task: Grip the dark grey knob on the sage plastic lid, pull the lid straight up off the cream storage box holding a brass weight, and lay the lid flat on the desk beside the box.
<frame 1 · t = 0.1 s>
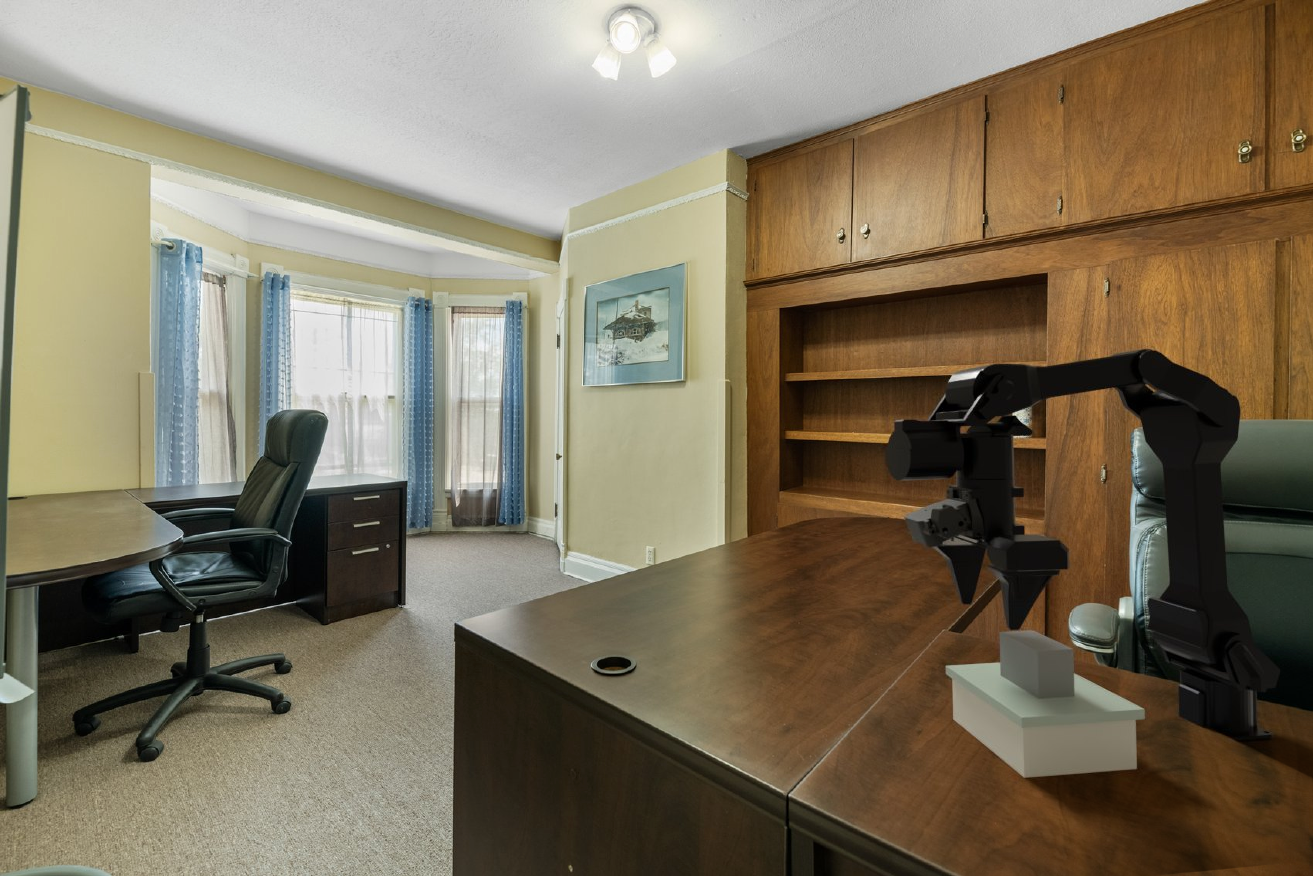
hand: (988, 616, 66), 14 cm above the table, fingers open, 9 cm apart
box: (1037, 748, 64), on the table
lid: (1036, 694, 64), point 6 cm above the table, touching box
brass weight: (1039, 736, 66), point 1 cm above the table, touching box
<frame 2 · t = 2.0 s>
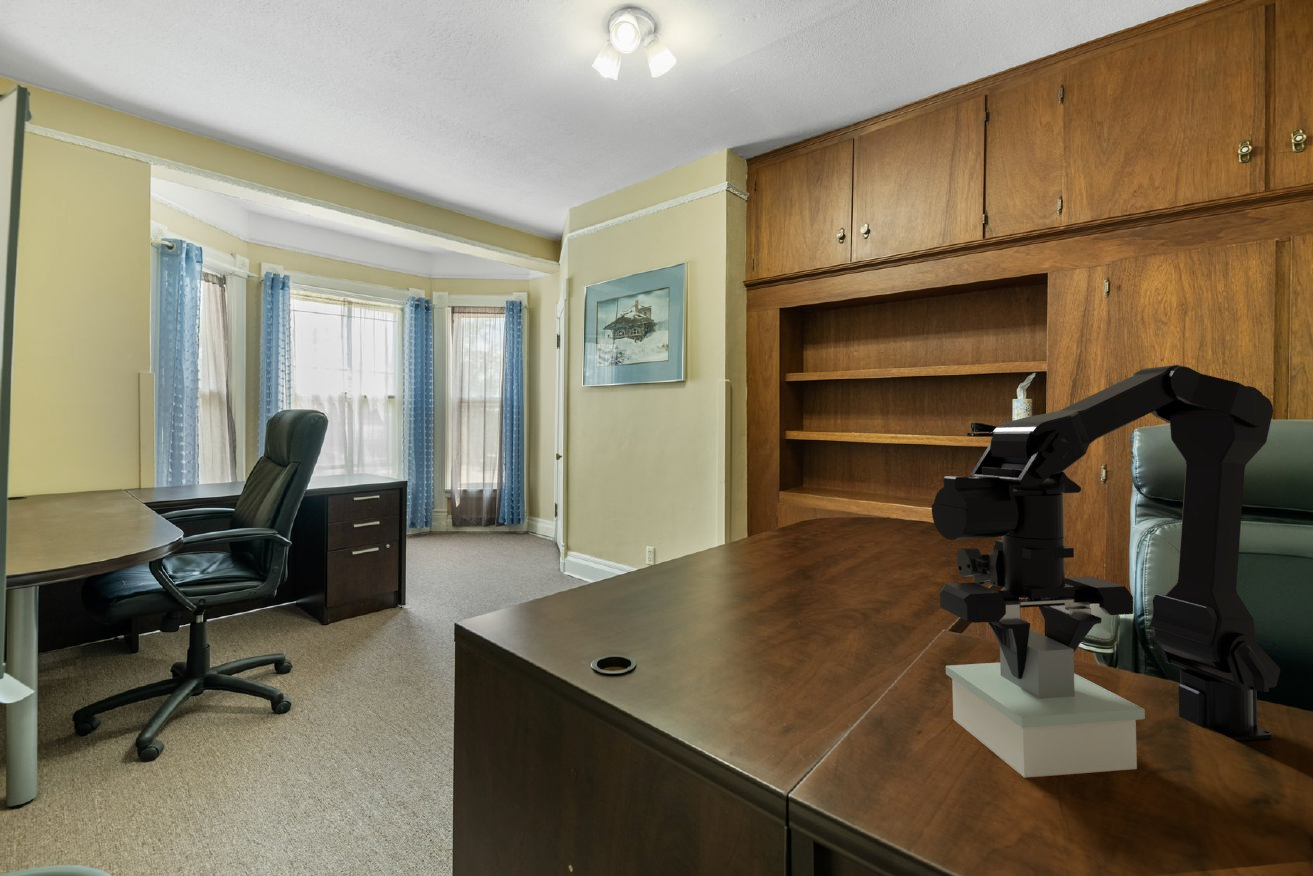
hand: (1035, 676, 64), 8 cm above the table, fingers closed on lid, 4 cm apart
lid: (1036, 694, 64), point 6 cm above the table, touching box, gripper
everything else where it was.
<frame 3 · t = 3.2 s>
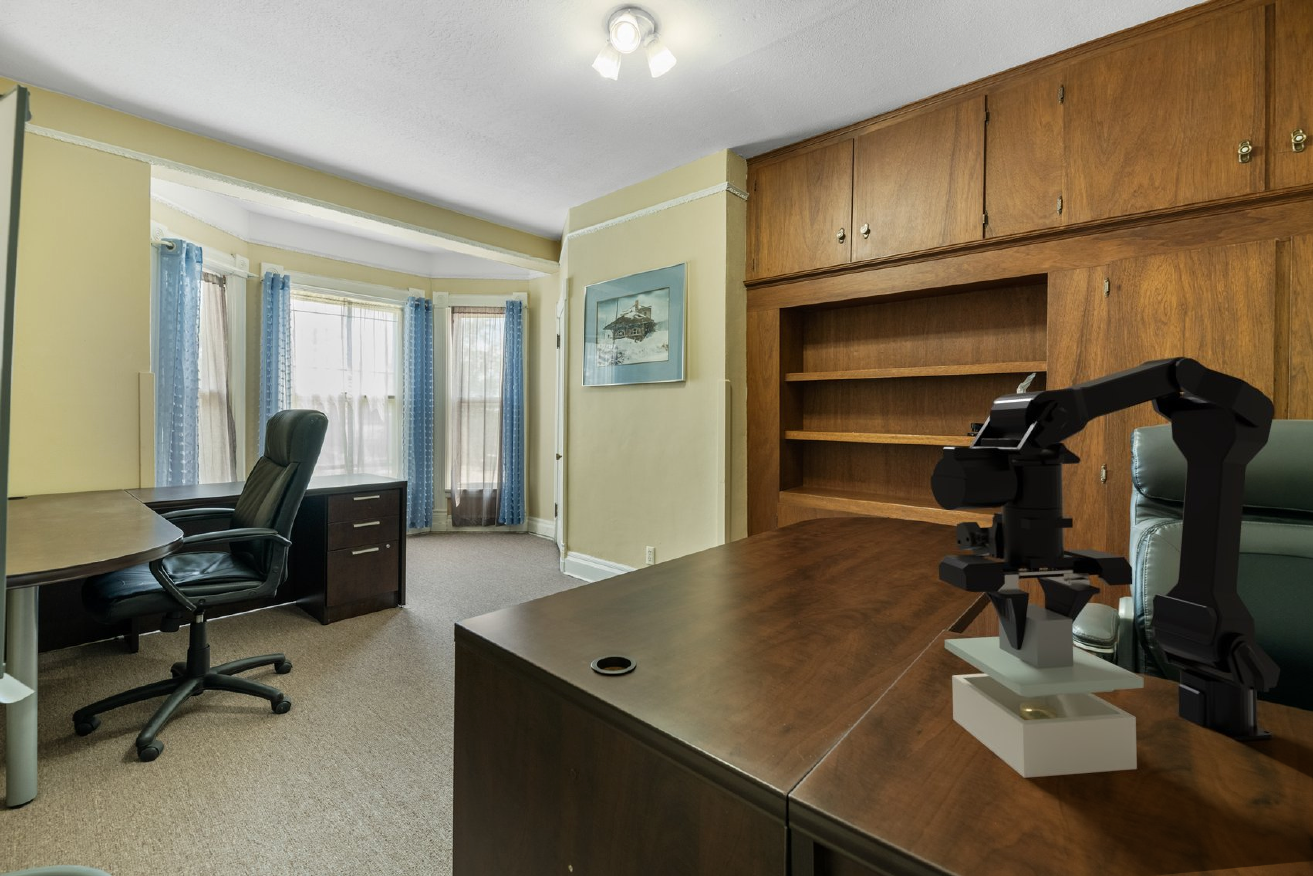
hand: (1034, 647, 64), 11 cm above the table, fingers closed on lid, 4 cm apart
lid: (1035, 666, 64), point 9 cm above the table, touching gripper
everything else where it was.
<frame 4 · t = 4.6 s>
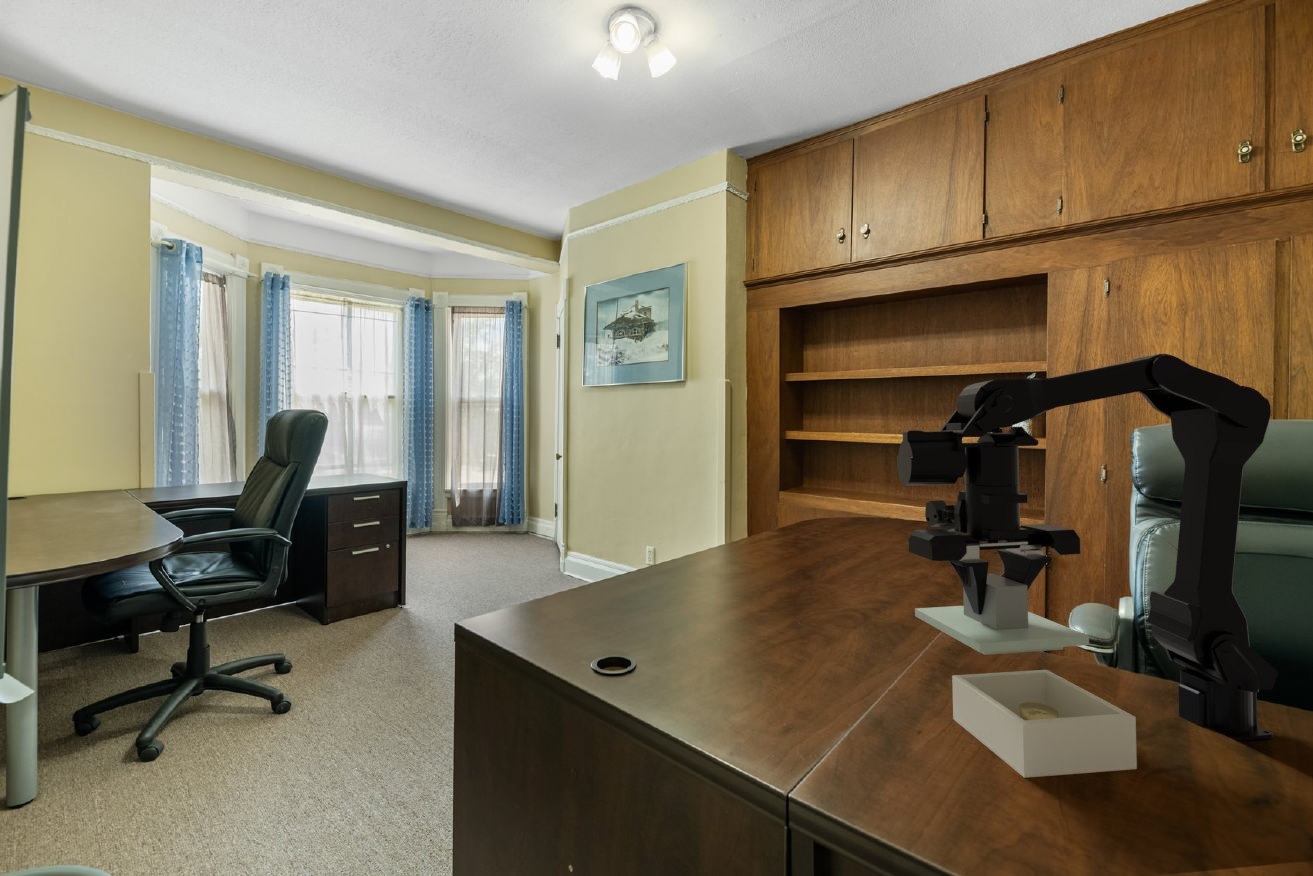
hand: (994, 612, 71), 13 cm above the table, fingers closed on lid, 4 cm apart
lid: (994, 629, 71), point 11 cm above the table, touching gripper
everything else where it was.
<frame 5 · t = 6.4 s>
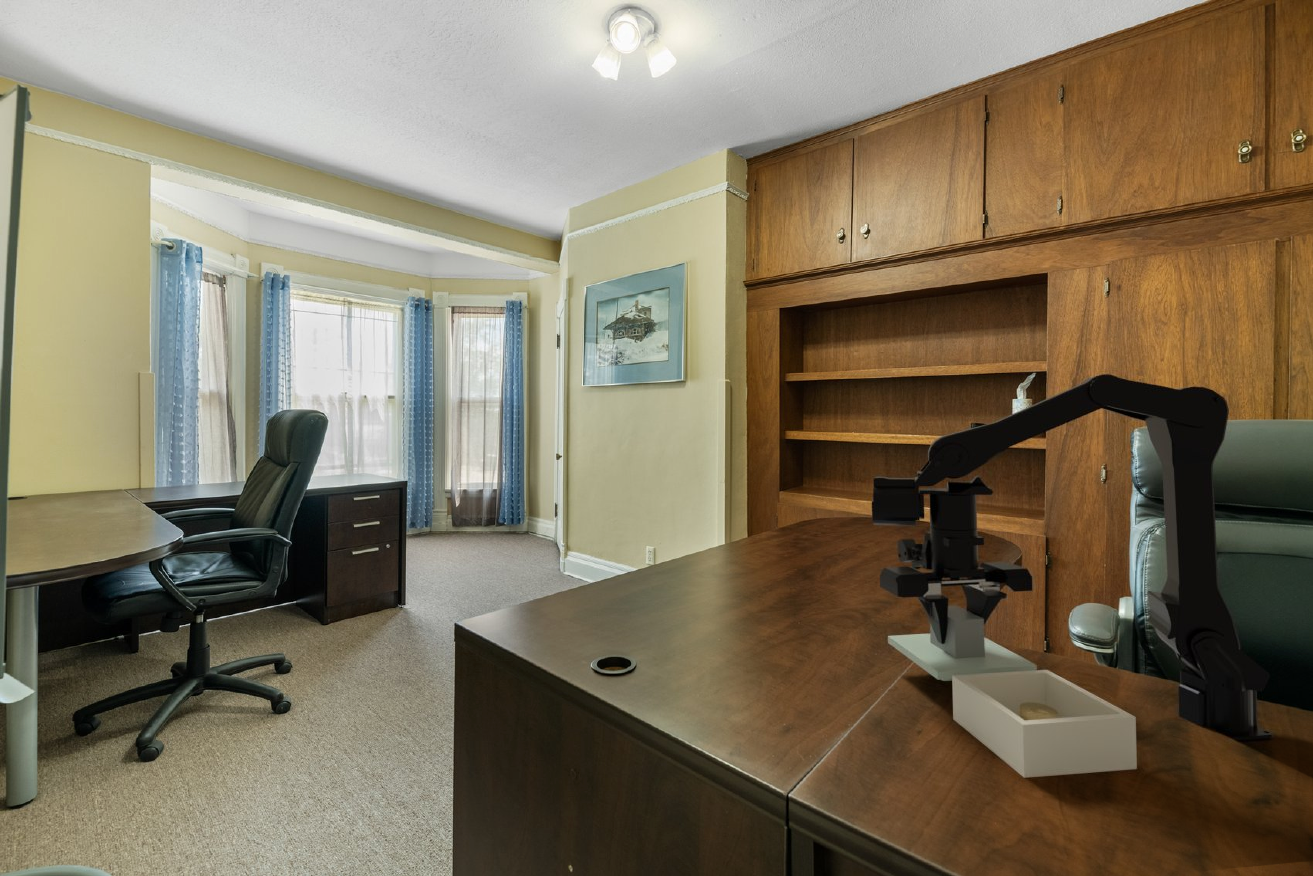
hand: (956, 642, 79), 7 cm above the table, fingers closed on lid, 4 cm apart
lid: (956, 656, 79), point 5 cm above the table, touching gripper
everything else where it was.
when the fingers open (4 cm above the table, at t = 7.5 s): lid drops 2 cm, point 1 cm above the table.
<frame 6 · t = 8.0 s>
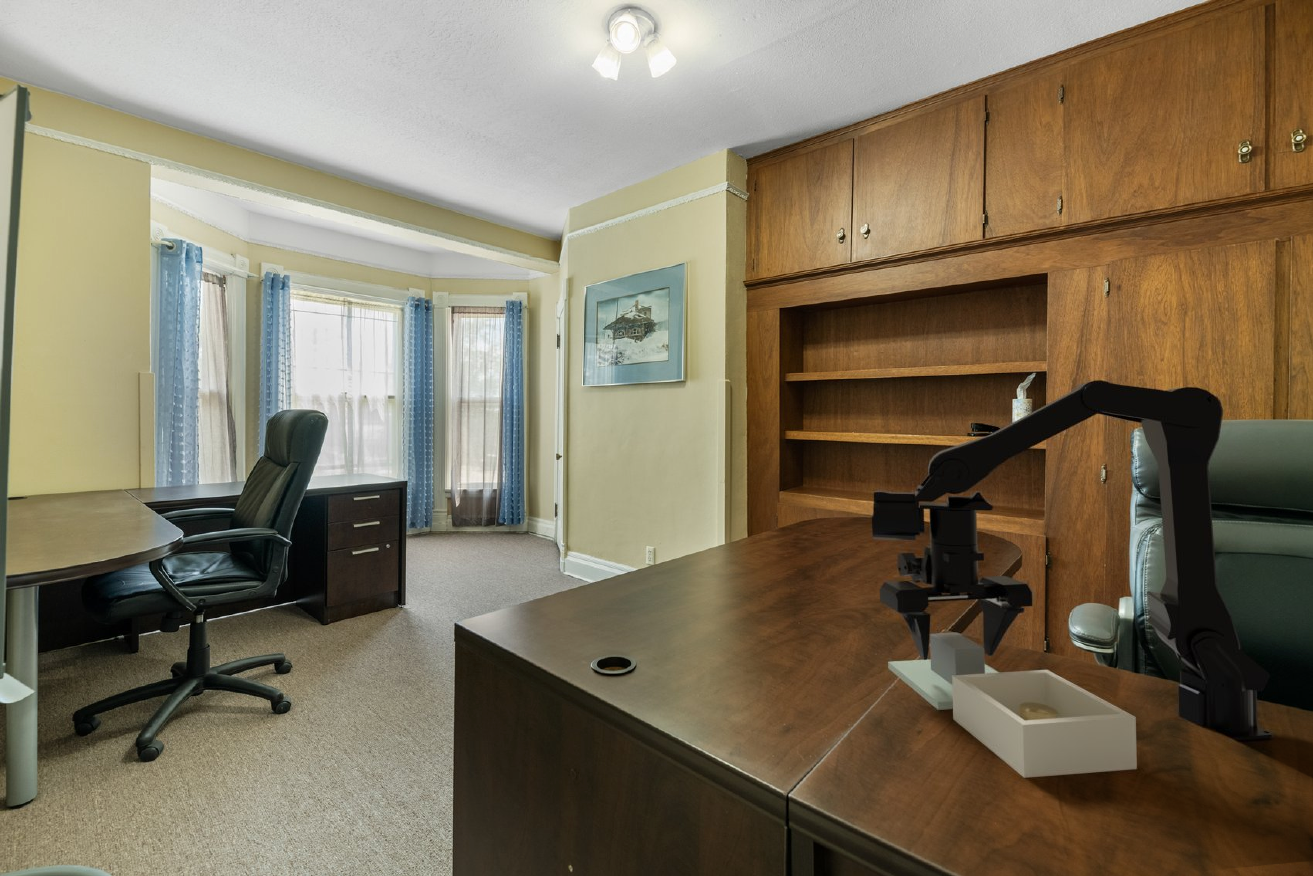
hand: (956, 657, 79), 4 cm above the table, fingers open, 9 cm apart
lid: (957, 684, 79), point 1 cm above the table
everything else where it was.
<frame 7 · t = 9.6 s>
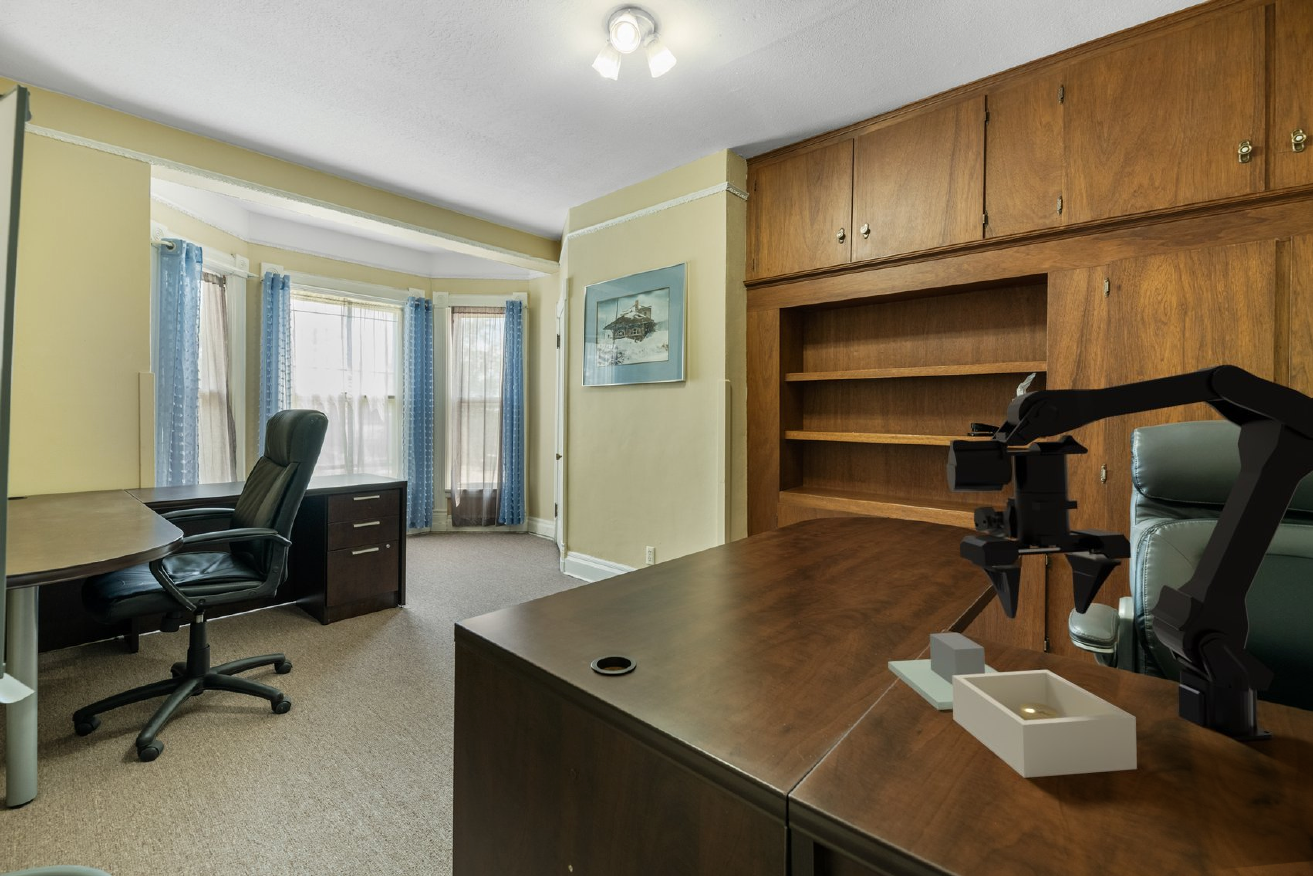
hand: (1045, 615, 73), 12 cm above the table, fingers open, 9 cm apart
nothing on the table moved.
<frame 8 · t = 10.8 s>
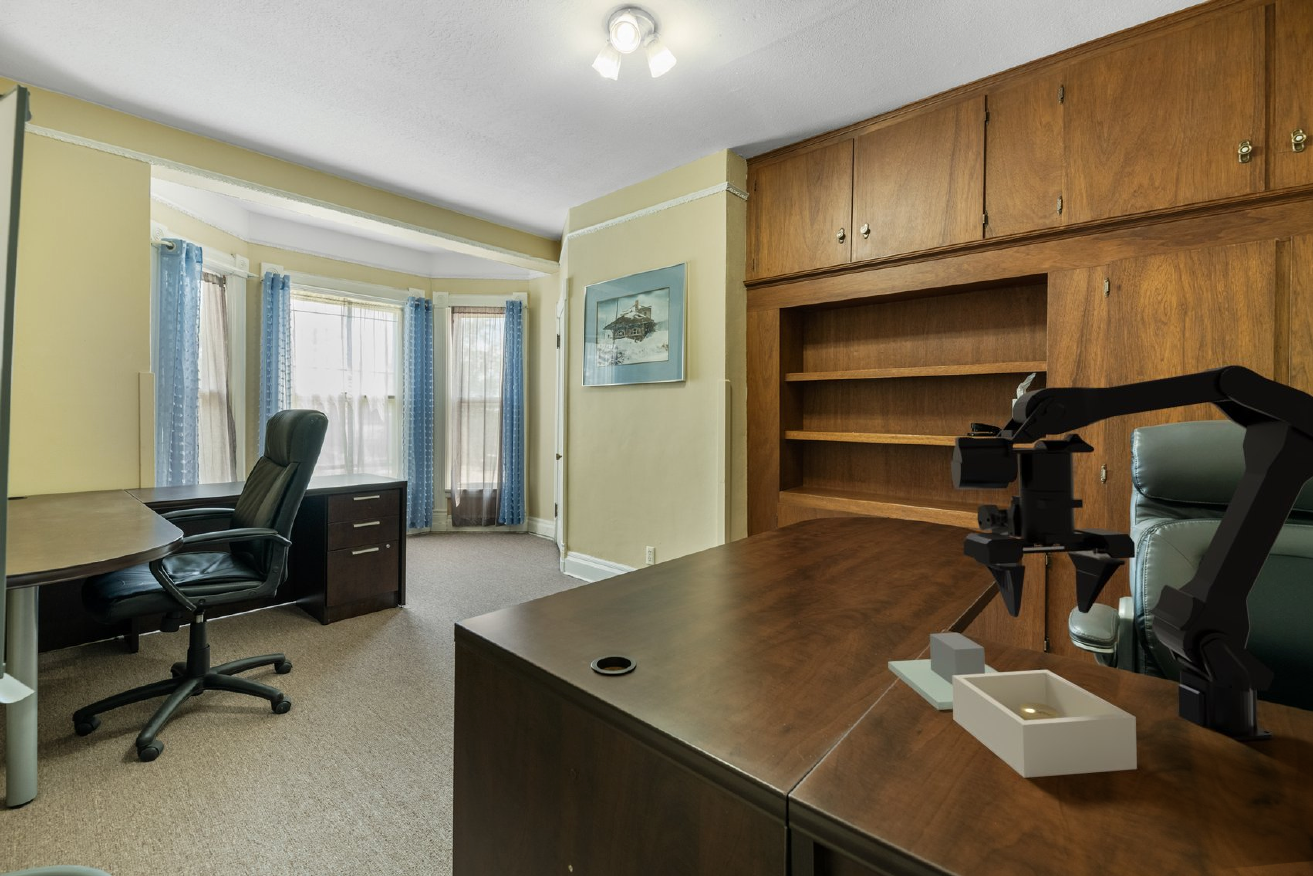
hand: (1048, 614, 73), 12 cm above the table, fingers open, 9 cm apart
nothing on the table moved.
at the end: lid inside the target area (0.1 cm from its centre), point 0.7 cm above the table; lid tilted 0°; lid touching table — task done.
